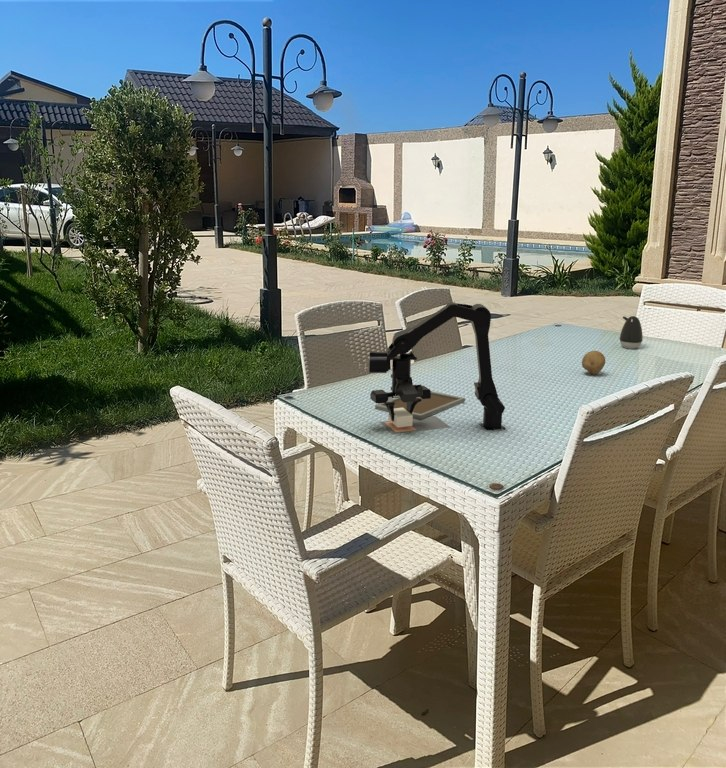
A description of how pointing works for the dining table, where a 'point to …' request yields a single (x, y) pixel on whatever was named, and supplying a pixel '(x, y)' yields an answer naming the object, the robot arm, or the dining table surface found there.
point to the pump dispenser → (631, 333)
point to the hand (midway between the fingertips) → (400, 420)
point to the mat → (417, 425)
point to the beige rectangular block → (401, 418)
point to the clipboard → (427, 404)
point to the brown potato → (593, 362)
